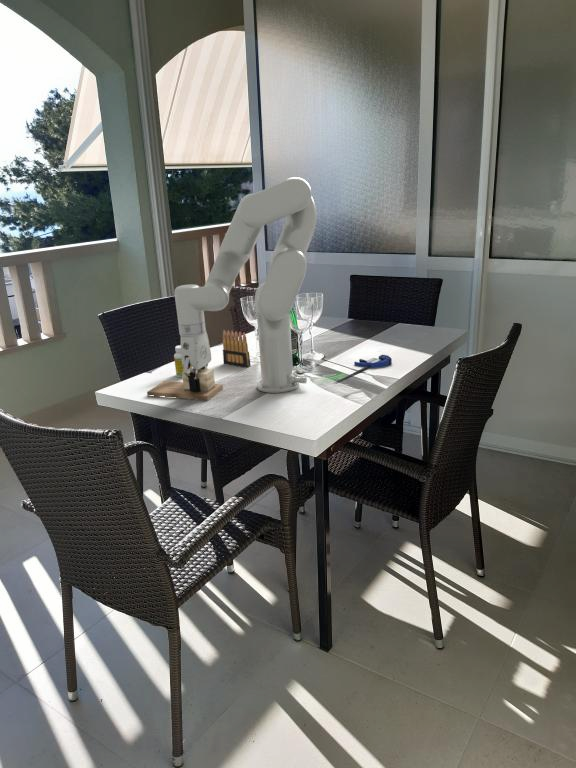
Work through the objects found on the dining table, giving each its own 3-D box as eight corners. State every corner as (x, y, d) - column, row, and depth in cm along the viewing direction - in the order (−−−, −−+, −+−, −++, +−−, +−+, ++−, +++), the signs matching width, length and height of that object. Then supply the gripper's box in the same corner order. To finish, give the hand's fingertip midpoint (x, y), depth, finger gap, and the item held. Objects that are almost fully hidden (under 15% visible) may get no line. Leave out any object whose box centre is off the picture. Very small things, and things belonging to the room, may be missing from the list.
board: (222, 389, 183) (222, 384, 182) (207, 400, 174) (207, 395, 174) (164, 385, 190) (164, 381, 189) (147, 396, 181) (147, 391, 180)
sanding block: (215, 387, 180) (213, 369, 179) (208, 392, 176) (206, 374, 175) (191, 385, 183) (189, 368, 181) (184, 390, 179) (181, 372, 177)
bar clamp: (370, 351, 204) (395, 355, 197) (370, 358, 205) (395, 363, 198) (309, 382, 182) (335, 387, 175) (309, 389, 182) (336, 395, 176)
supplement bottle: (177, 378, 196) (173, 349, 193) (175, 373, 201) (172, 345, 198) (193, 376, 197) (190, 347, 194) (191, 371, 202) (188, 343, 199)
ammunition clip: (223, 363, 209) (220, 329, 205) (227, 362, 210) (223, 328, 206) (247, 367, 202) (244, 332, 199) (250, 366, 204) (247, 331, 200)
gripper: (190, 336, 165) (197, 399, 171) (216, 321, 180) (223, 380, 186) (165, 335, 168) (174, 397, 173) (194, 321, 183) (201, 379, 188)
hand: (199, 387), depth 180 cm, fingers closed on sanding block, 4 cm apart
